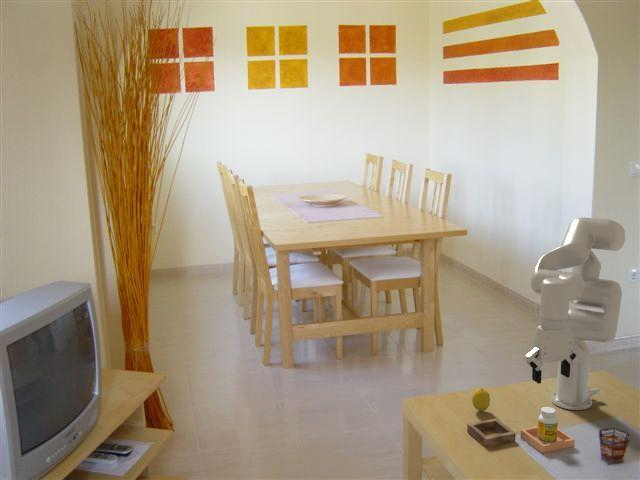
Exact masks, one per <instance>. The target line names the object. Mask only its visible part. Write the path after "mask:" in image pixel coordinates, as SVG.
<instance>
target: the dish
mask: <svg viewBox="0 0 640 480" xmlns="http://www.w3.org/2000/svg"><path fill="white" fill-rule="evenodd" d="M520 438H521V439H522V440H523V441H525V442H526V443H527V444H528V445H530V447H532V448H534V449H536V450H537V451H538V452H539V453H541V455H548V454H550V453H551V454H553V453H556V452H557V453H558V452H561V451H565V450H569V449H574V448H575V438H573V437H572V436H570V435H569V434H568V433H566V432H564V431H563V430H561V428H558V427H557V441H556V442H554V443H549V444H544V443H541V442H540V441H539V440H538V425H537V426H531V427H527V428H522V429H520Z"/></svg>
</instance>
